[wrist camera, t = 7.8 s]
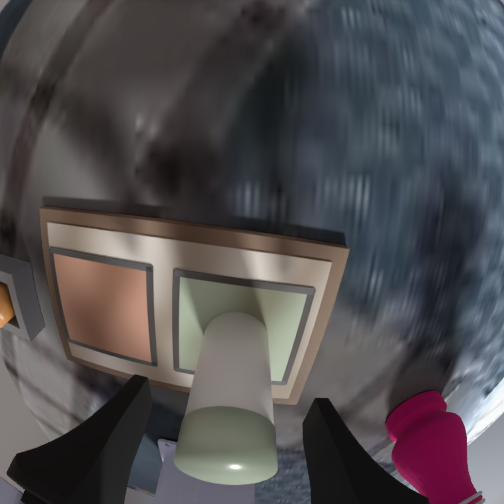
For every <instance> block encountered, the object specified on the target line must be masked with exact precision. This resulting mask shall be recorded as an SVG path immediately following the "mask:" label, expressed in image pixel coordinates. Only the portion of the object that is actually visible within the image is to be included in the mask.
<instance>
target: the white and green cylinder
mask: <svg viewBox="0 0 504 504" xmlns="http://www.w3.org/2000/svg"><path fill="white" fill-rule="evenodd" d="M174 464H175V465H176V467H177V468H178V469H180V470H181V471H182V472H184V473H186V474H187V475H189V476H192V477H194V478H197V479H200V480H203V481H207V482H211V483H217V484H226V485H243V484H252V483H257V482H261V481H264V480H267V479H269V478H271V477H272V476H274V475H275V474H276V472H277V470H278V466H277V449H276V432H275V427H274V419H273V402H272V386H271V370H270V354H269V339H268V332H267V329H266V327H265V326H264V324H263V323H262V322H261V321H260V320H259V319H258V318H256V317H254V316H252V315H250V314H248V313H244V312H226V313H222V314H220V315H218V316H216V317H214V318H213V319H212V320H211V321H210V322H209V323H208V325H207V327H206V329H205V333H204V337H203V341H202V345H201V349H200V353H199V357H198V361H197V366H196V370H195V374H194V378H193V382H192V386H191V390H190V395H189V399H188V403H187V408H186V412H185V416H184V418H183V420H182V424H181V428H180V432H179V437H178V441H177V446H176V450H175V455H174Z"/></svg>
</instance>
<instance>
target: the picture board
mask: <svg viewBox="0 0 504 504" xmlns="http://www.w3.org/2000/svg"><path fill="white" fill-rule="evenodd" d="M39 214H40V229H41V240H42V249H43V257H44V264H45V270H46V276H47V282H48V287H49V292H50V297H51V302H52V306H53V311H54V315H55V319H56V323H57V326H58V330H59V334H60V337H61V340H62V344H63V347H64V350H65V353H66V356H67V359H68V360H71V361H73V362H76V363H79V364H82V365H84V366H87V367H90V368H93V369H96V370H99V371H102V372H105V373H108V374H112V375H115V376H118V377H122V378H125V379H130V378H131V377H132V376H133V375H134V374H137V375H141V376H145V377H148V380H149V385H152V386H156V387H161V388H165V389H170V390H175V391H180V392H185V393H190V390H191V386H192V382H193V378H194V374H195V370H196V366H197V361H198V357H199V353H200V349H201V345H202V341H203V337H204V333H205V329H206V327H207V325H208V323H209V322H210V321H211V320H212V319H213V318H214V317H216V316H218V315H220V314H222V313H226V312H244V313H248V314H250V315H252V316H254V317H256V318H258V319H259V320H260V321H261V322H262V323H263V324H264V326H265V327H266V329H267V332H268V339H269V354H270V370H271V386H272V402H273V404H291V405H296V404H297V402H298V400H299V397H300V395H301V393H302V390H303V388H304V385H305V383H306V380H307V378H308V375H309V373H310V370H311V368H312V365H313V363H314V360H315V357H316V355H317V352H318V349H319V346H320V344H321V341H322V338H323V335H324V332H325V329H326V327H327V324H328V321H329V318H330V315H331V312H332V308H333V305H334V302H335V299H336V296H337V292H338V289H339V286H340V282H341V279H342V276H343V272H344V269H345V265H346V261H347V258H348V254H349V250H350V249H349V248H348V247H347V246H346V245H340V244H334V243H328V242H322V241H315V240H309V239H302V238H296V237H289V236H283V235H276V234H269V233H262V232H256V231H249V230H242V229H234V228H227V227H220V226H213V225H205V224H198V223H190V222H182V221H174V220H166V219H158V218H150V217H142V216H134V215H125V214H116V213H107V212H98V211H89V210H79V209H70V208H60V207H49V206H44V207H41V208H39Z"/></svg>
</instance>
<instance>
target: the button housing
mask: <svg viewBox="0 0 504 504" xmlns="http://www.w3.org/2000/svg"><path fill="white" fill-rule="evenodd" d="M0 282H3V283H5V284H7V285H8V289H9V293H10V297H11V301H12V304H13V308H14V311H15V314H16V315H15V316H14V317H13V318H11V319H10V320H9V321H8V322H7V323H6V324H5V325H4V326H3V327H2V328H4V329H6V330H8V331H10V332H12V333H14V334H16V335H18V336H20V337H22V338H24V339H26V340H28V341H30V342H31V341H32V340H33V339H34V338H35V337H36V336H37V335H38V334H39V332H40V331H41V330H42V329H43V328H44V327H45V325H44V321H43V317H42V314H41V310H40V306H39V302H38V298H37V293H36V289H35V284H34V279H33V273H32V268H31V262H27V261H23V260H20V259H16V258H13V257H9V256H6V255H2V254H0Z"/></svg>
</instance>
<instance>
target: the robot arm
mask: <svg viewBox="0 0 504 504" xmlns="http://www.w3.org/2000/svg"><path fill="white" fill-rule="evenodd" d="M151 409H152V399H151V393H150V387H149V380H148V377H145V376H141V375H137V374H134V375H133V376H132V377H131V378H130V379H129V380H128V381H127V382H126V384H125V385H124V386H123V387H122V388H121V389H120V390H119V391H118V392H117V393H116V394H115V395H114V396H113V397H112V398H111V399H110V400H109V401H108V402H107V403H106V404H105V405H103V406H102V407H101V408H100V409H99V410H98V411H97V412H95V413H94V414H93V415H92V416H91V417H89V418H88V419H87V420H85V421H84V422H83V423H81V424H80V425H79V426H77V427H76V428H74V429H73V430H71V431H69V432H68V433H66V434H64V435H63V436H61V437H59V438H57V439H55V440H53V441H51V442H48V443H47V444H44V445H42V446H39V447H37V448H34V449H31V450H27V451H25V452H21V453H17V454H16V456H15V457H14V459H13V461H12V463H11V465H10V467H9V469H8V471H7V475H8V476H9V477H10V478H11V479H12V480H13V481H15V482H16V483H17V484H18V485H20V486H21V487H22V488H23V489H25V491H24V493H22V492H21V491H19V490H18V489H17V488H15V487H13V486H12V485H11V484H9V483H8V482H7V481H6V480H4V479H3V478H2V477H0V504H124V500H125V494H126V489H127V484H128V479H129V475H130V471H131V467H132V464H133V461H134V458H135V455H136V453H137V450H138V448H139V445H140V443H141V440H142V437H143V435H144V432H145V430H146V427H147V424H148V421H149V417H150V413H151ZM303 444H304V450H305V456H306V462H307V468H308V473H309V479H310V487H311V504H430V502H429V499H428V498H427V497H425V496H423V495H421V494H419V493H417V492H415V491H413V490H411V489H410V488H408V487H407V486H405V485H403V484H402V483H400V482H399V481H398V480H396V479H395V478H394V477H393V476H391V475H390V474H389V473H387V472H386V471H385V470H384V469H383V468H382V467H381V466H379V465H378V464H377V463H376V462H375V461H374V460H373V459H372V458H371V457H370V455H369V454H368V453H367V452H366V451H365V450H364V449H363V447H362V446H361V445H360V444H359V443H358V441H357V440H356V439H355V437H354V436H353V435H352V433H351V432H350V430H349V429H348V428H347V426H346V425H345V423H344V422H343V420H342V419H341V417H340V416H339V414H338V413H337V411H336V409H335V408H334V406H333V405H332V403H331V402H330V400H329V399H328V398H315V399H314V401H313V403H312V405H311V407H310V409H309V412H308V414H307V416H306V418H305V419H304V421H303ZM158 446H159V450H160V454H161V458H162V461H163V464H162V469H161V473H160V477H159V481H158V485H157V490H156V494H155V498H154V503H153V504H254V486H255V483H252V484H243V485H226V484H217V483H211V482H207V481H203V480H200V479H197V478H194V477H192V476H189V475H187V474H186V473H184V472H182V471H181V470H180V469H178V468H177V467H176V465H175V464H174V455H175V450H176V446H177V442H174V441H169V440H165V439H158Z"/></svg>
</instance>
